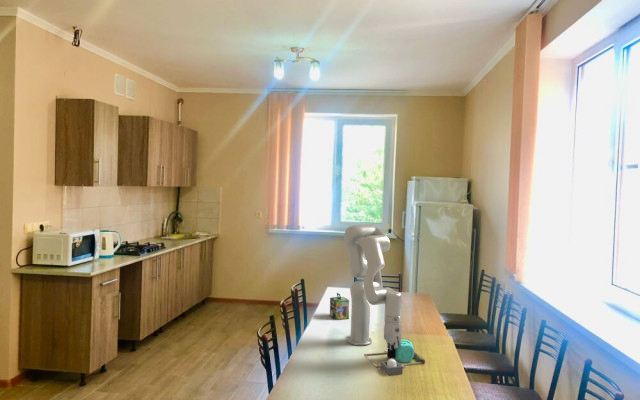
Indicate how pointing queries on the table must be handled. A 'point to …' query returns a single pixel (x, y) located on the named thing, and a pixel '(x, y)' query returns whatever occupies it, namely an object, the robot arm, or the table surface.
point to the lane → (419, 358)
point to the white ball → (391, 363)
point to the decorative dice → (404, 352)
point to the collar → (391, 368)
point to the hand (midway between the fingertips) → (391, 357)
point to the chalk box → (339, 307)
